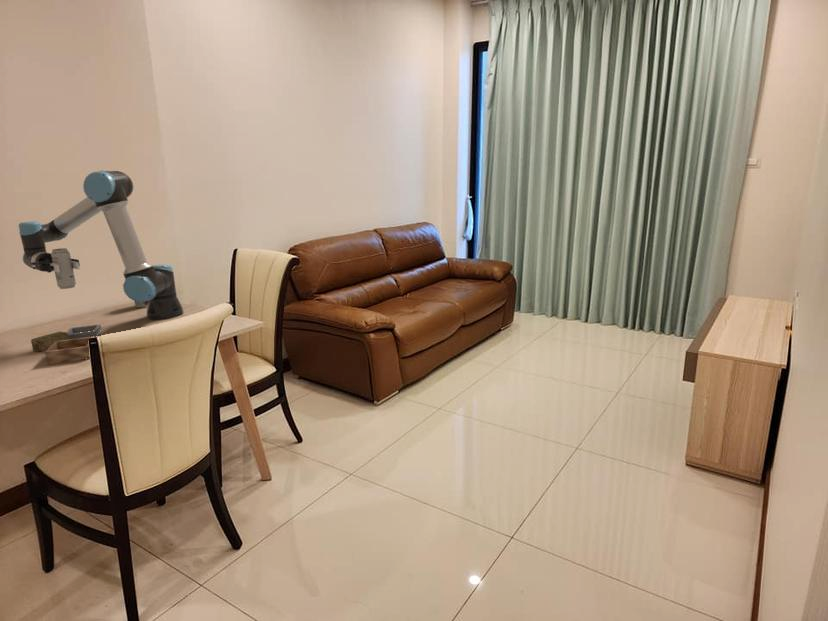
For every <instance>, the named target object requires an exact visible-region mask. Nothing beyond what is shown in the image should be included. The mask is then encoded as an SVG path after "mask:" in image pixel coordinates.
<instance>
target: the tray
mask: <svg viewBox="0 0 828 621" xmlns="http://www.w3.org/2000/svg"><path fill="white" fill-rule="evenodd" d="M101 329H102V325H101V323H100V324H90V325H84V326H75V327H69V328H68V329H67V330H66V333H68V336H69V339H77V338H85V337H93V336H97V337H98V336H99V335H100V333H101V332H100V330H101ZM93 330H94V331H93ZM88 331H90V332H88ZM101 331H102V330H101ZM80 332H82V333H80ZM99 332H100V333H99ZM97 334H99V335H97Z"/></svg>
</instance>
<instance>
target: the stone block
mask: <svg viewBox="0 0 828 621" xmlns="http://www.w3.org/2000/svg"><path fill="white" fill-rule="evenodd" d="M66 332H67V331H66ZM66 332H65V331H58V332H54V333H53V332H52V333H48V334H46V335H45V334H44V335H42V336H38V337H33V338H32V339H31V340H30V343H31V347H32V351H34V352H35V351H37V352H46V350H47V349H48V348H49V347H50V346H51V345H52V344H53V343H54V342H55V341H61V340H69V336H68V333H66Z"/></svg>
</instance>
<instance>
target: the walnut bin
mask: <svg viewBox="0 0 828 621" xmlns="http://www.w3.org/2000/svg"><path fill="white" fill-rule="evenodd" d="M94 337H96V336H94ZM89 338H91V337H85V338H77V339H69V340H61V341H55V342H54V343H53V344H52V345H51V346H50V347H49V348H48V349H47V350H46V351H44V354H45V359H46V363H47V365H55V364H54V363H56V364H63V363H69V361H71V362H76V361H75V360H78V361H82V360H81V359H85V360H90V359H89V358H90V357H89V345H88V339H89ZM96 338H97V337H96ZM86 358H87V359H86ZM62 362H63V363H62Z"/></svg>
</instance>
